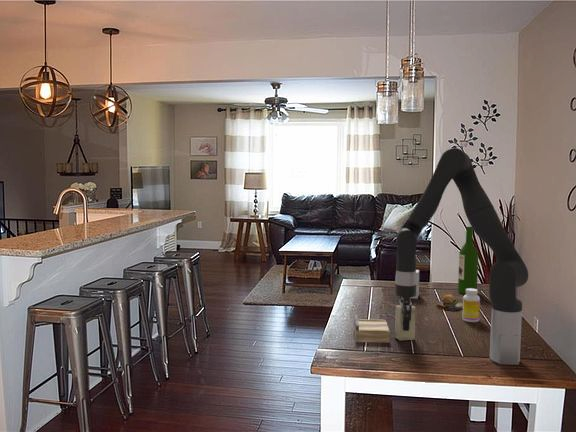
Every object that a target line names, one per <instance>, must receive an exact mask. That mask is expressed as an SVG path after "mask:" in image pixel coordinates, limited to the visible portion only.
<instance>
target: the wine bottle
mask: <svg viewBox="0 0 576 432" xmlns="http://www.w3.org/2000/svg"><path fill="white" fill-rule="evenodd" d="M473 233H474V230H473V229H472V227H471V226H467V227H466V232H465V243H464V244H463V246H462V247H461V248H460V250H459V254H458V274H457V275H458V276H457V277H458V281H457V282H458V283H457V292H458V293H459V294H462V295H466V289H467V288H473V289H477V290H478V277H479V276H478V274H479V273H478V271H479V270H478V269H479V252H478V251H479V250H477V247H476V246H475V245H474V243H473V242H474V241H473V237H474V236H473Z"/></svg>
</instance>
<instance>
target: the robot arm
mask: <svg viewBox="0 0 576 432" xmlns="http://www.w3.org/2000/svg"><path fill="white" fill-rule="evenodd" d="M452 180H453V182H454V184H455V185H456V188H457V189H458V191H459V194H460V196H461V202H462V205H463V206H462V207H463V211H464V213H465V216H466V218H467V220H468V223H469V225H470V227H472V229H473V233H475V234H476V235H477V237H479V238H480V239H481V240H482V241H483V243H485V244H486V245H487V246H488V247H489V248H490V249H491V250H492V252H493V254H494V255H495V258H496V260H497V261H496V262H495V263H493V264H492V266H491V267H490V270H489V276H488V277H489V278H488V280H489V283H488V284H489V285H488V286H489V291H488V293H489V295H488V296H489V298H490V299H489V300H490V302H491V313H490V314H491V316H490V334H489V335H490V338H489V339H490V343H489V359H490V360H491V361H492V362H494V363H496V364H498V365H509V366H510V365H511V366H512V365H513V366H515V365H516V366H520V361H521V341H522V340H521V338H522V337H521V336H522V319H523V318H522V317H523V315H522V314H523V302H522V300H521V299H519V298H517V288H519V287H522V286H524V285H525V284H526V283H527V282H528V280H529V271H528V268H527V265H526V263H525V262H524V260H523V258H522V257H521V255H520V254H519V253H518V251H517V249H516V248H515V246H514V244H513V242H512V241H511V239H510V237H509V235H508V233H507V232H506V229H505V227H504V225H503V223H502V222H501V219H500V217H499V215H498V213H497V211H496V209H495V207H494V205H493V204H492V202H491V200H490V198H489V197H488V194H487V193H486V191H485V189H484V188H483V187H482V185H481V183H480V181H479V179H478V176H477V173H476V170H475V168H474V165H473V162H472V159H471V157H470V156H469V155H468V154H467V153H466V152H465V151H464V150H462V149H460V148H457V147H451V148H448V149H446V150H445V151H444V152H443V153H442V154H441V156H440V158H439V161H438V163H437V165H436V168H435V170H434V172H433V174H432V176H431V179H430V180H429V182H428V185H427V186H426V189H425V190H424V192H423V193H422V195H421V197H420V198H419V200H418V201H417V203H416V204H415V206H414V207H413V209H412V210H411V212H410V215H409V216H408V218H407V219H406V221H405V222H404V223H403V224H402V225H401V227H400V229H398V232H397V234H396V255H397V256H396V263H395V264H396V265H395V266H396V268H395V276H394V277H395V278H394V279H395V282H394V283H395V284H394V294H395V296H396V297H399V303H398V304H399V305H400V306H401V308H404V311H403V309H402V314H403V330H404V331H409V321H410V320H411V308H412V306H413V305H412V300H411V299H412V298H411V297H415V296H416V280H417V277H416V270H417V257H416V254H417V246H418V245H417V243H418V238H419V236H420V234H421V233H422V231H423V229H424V228H425V227H427V225H428V224H429V223H430V222H431V219H432V218H433V217H434V215H435V214H436V212H437V210H438V209H439V208H438V207H439V206H440V203H441V201H442V198H443V195H444V193H445V190H446V188H447V186H448V185H449V184H450V182H451V181H452ZM405 315H408V317H405Z"/></svg>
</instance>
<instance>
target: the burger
mask: <svg viewBox="0 0 576 432" xmlns="http://www.w3.org/2000/svg"><path fill="white" fill-rule="evenodd" d="M446 293H447V294H446V295H444V297H443V299H442V300H439V301H437V302H436V307H437V308H438V309H441V310H443V311H444V310H446V311H450V312H451V311H455V312H457V311H456V310H458V311H463V310H462V309H463V302H461V301H459V300H458V299H457V300H456V299H455V296H454V295H452V294H448V292H446Z"/></svg>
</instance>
